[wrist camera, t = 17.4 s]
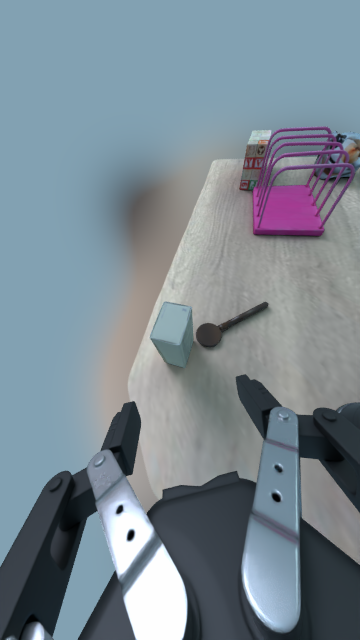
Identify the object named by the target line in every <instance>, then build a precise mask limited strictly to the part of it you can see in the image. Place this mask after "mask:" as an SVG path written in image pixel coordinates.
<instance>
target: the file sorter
mask: <svg viewBox="0 0 360 640" xmlns="http://www.w3.org/2000/svg"><path fill="white" fill-rule="evenodd" d="M303 130H326V131H328V133H329V134H312V135H291V136H282V137H279V138H277V139H276V140H275V141H274V142H273V143H272V145H271V146H270V149H269V152H268V148H269V145H270V142H271V139H272V138H273V137H274V135H275V134H277V133H279V132H284V131H303ZM321 137H328V140H327V142H287V143H283V144H281V145H280V146H279V147H277V148H276V149H275V151H274V152H273V154H272V157H271V160H270V163H269V166H268V169H267V172H266V176H265V179H264V183H263V186H261V184H262V181H263V177H264V173H265V170H266V166H267V162H268V159H269V155H270V152H271V149H272V146H273V145H274V144H275V143H276V142H277V141H279V140H281V139H294V138H321ZM330 139H333V142H329V141H330ZM293 145H294V146H295V145H325V147H324V149H323V151H311V152H298V153H286V154H283V155H281V156H279V157H278V158H277V159H275V161H274V162H273V163H272V161H273V158H274V155H275V153H276V152H277V151H278V150H279V149H280V148H282V147H283V146H293ZM328 145H333V147H332V149H331V150H327V151H325V150H326V148H327V146H328ZM335 146H338V147H339V148H340V150H334V149H335ZM267 152H268V155H267ZM323 154H329V156H328V157H327V159H326V161H325V164H319V162H320V160H321V158H322V156H323ZM332 154H340V155H339V157H338V159H337V161H336V163H335V164H327V163H328V161H329V159H330V157H331V155H332ZM343 154H344V155H345V157H346V161H345V163H339V161H340V159H341V157H342V155H343ZM306 155H320V158H319V160H318V162H317V164H315V165H298V166H287V167H284V168H282V169H280V170H279V171H277V172H276V173H275V175H274V176H273V178H272V180H271V182H270V185H269V186H268V182H269V179H270V175H271V172H272V169H273V166H274V165H275V163H276V162H277V161H278V160H280V159H281V158H284V157H292V156H306ZM266 156H267V158H266ZM265 159H266V162H265ZM348 162H349V154H348V153H347V151H345V150H344V148H343V145H342V144H341V143H339V142H336V137H335V136H334V135H332V134H331V130H330V129H329V128H328V127H303V128H302V127H301V128H284V129H279V130H277V131H276V132H274V133H273V135H272V136H271V137H270V139H269V141H268V145H267V148H266V152H265V156H264V159H263V163H262V167H261V171H260V175H259V179H258V183H257V187H254V189H253V234H266V235H313V236H321V235H322V233H323V232H324V227H323V225H324V224H325V222H326V221H327V219H328V217H329V216H330V214H331V213H332V211H333V210H334V208H335V206H336V205H337V203H338V202H339V200H340V199H341V197H342V196H343V194H344V192H345V191H346V189H347V188H348V186H349V184H350V183H351V181H352V179H353V177H354V175H355V168H354V166H353V165H351V164H349V163H348ZM264 163H265V166H264ZM338 163H339V164H338ZM271 164H272V165H271ZM263 167H264V170H263ZM336 167H342V169H341V171H340V173H339V175H338V176H337V178H336V180H335V182H334V183H333V185H332V187H331V189H330V190H329V192H328V194H327V196H326V197H325V199H324V201H323V203H322V204H321V206H320V208H319V209H317V206H316V203H315V202H316V201H317V199H318V197H319V196H320V194H321V192H322V190H323V189H324V187H325V185H326V184H327V182H328V180H329V178H330V177H331V175H332V173H333V171H334V170H335V168H336ZM346 167H348V168H350V169H351V176H350V178H349V180H348V182H347V183H346V185H345V187H344V188H343V190H342V191H341V193H340V195H339V196H338V198H337V199H336V201H335V203H334V204H333V206H332V208H331V209H330V211H329V212H328V214H327V215H326V217H325V219H324V220H323V222H322V221H321V218H320V215H319V213H320V211H321V209H322V208H323V206H324V204H325V202H326V201H327V199H328V197H329V196H330V194H331V192H332V191H333V189H334V187H335V185H336V184H337V182H338V180H339V179H340V177H341V175H342V173H343V172H344V170H345V168H346ZM312 168H314V170H313V172H312V174H311V176H310V178H309V180H308V182H307V185H291V186H272V184H273V181H274V179H275V178H276V176H277V175H278V174H280V173H281V172H283V171H285V170H294V169H312ZM316 168H322V169H321V171H320V173H319V175H318V177H317V179H316V181H315V183H314V185H313V187H312V189H310V186H309V183H310V181H311V179H312V177H313V175H314V173H315V171H316ZM325 168H332V170H331V172H330V173H329V175H328V177H327V179H326V180H325V182H324V184H323V186H322V187H321V189H320V191H319V193H318V194H317V196H316V198H315V200H314V198H313V195H312V192H313V190H314V188H315V186H316V184H317V182H318V180H319V178H320V176H321V174H322V172H323V171H324V169H325ZM262 171H263V173H262ZM268 173H269V174H268ZM261 174H262V177H261ZM267 176H268V177H267ZM260 178H261V181H260ZM266 180H267V181H266ZM259 182H260V185H259ZM265 183H266V185H265ZM258 185H259V187H258Z"/></svg>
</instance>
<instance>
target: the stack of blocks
mask: <svg viewBox="0 0 360 640" xmlns="http://www.w3.org/2000/svg"><path fill="white" fill-rule="evenodd" d="M270 137H271V130H263V131H252V135H251V137H250V140H249V142H248V144H247V149H246V155H245V160H244V166H243V173H242V178H241V183H240V188H239V189H240V190H253V189H254V187H257V183H258V179H259V175H260V171H261V167H262V163H263V159H264V156H265V152H266V148H267V145H268V141H269V139H270Z"/></svg>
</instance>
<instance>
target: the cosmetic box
mask: <svg viewBox="0 0 360 640" xmlns="http://www.w3.org/2000/svg"><path fill="white" fill-rule="evenodd" d="M150 339H151V340H152V342H153V344H154V345H155V347H156V348H157V350H158V352H159V353H160V355H161V357H162V358H163V360H164V362H166V363H169V364H172V365H176V366H179V367H183V368H185V367H186V364H187V361H188V358H189V354H190V351H191V347H192V343H193V321H192V307H190V306H185V305H181V304H175V303H170V302H164V303H163V305H162V308H161V310H160V312H159V315H158V317H157V320H156V322H155V325H154V327H153V330H152V332H151V335H150Z"/></svg>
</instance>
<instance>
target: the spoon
mask: <svg viewBox="0 0 360 640" xmlns="http://www.w3.org/2000/svg"><path fill="white" fill-rule="evenodd" d="M266 307H268V303H267V302H263V303H262V304H260V305H258V306H256V307H254V308H252V309H250V310H248V311H246V312H244V313H242V314H240V315H238V316H237V317H235V318H233V319H231V320H229V321H227V322H225V323H222V324H221V325H219V326H216V325H214V324H211V323H206V324H203V325H201V326H200V327H199V328H198V329H197V331H196V338H197V341H198V342H199V343H200V344H201V345H203V346H205V347H213V346H215V345H217V344H218V343H219V342H220V340H221V332H223V331H225V330H227V329H228V327H230V326H232V325H234V324H236V323H238V322H240V321H241V320H243V319H245V318H247V317H249V316H251V315H253V314H255V313H257V312H259V311H260V310H262V309H264V308H266Z"/></svg>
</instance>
